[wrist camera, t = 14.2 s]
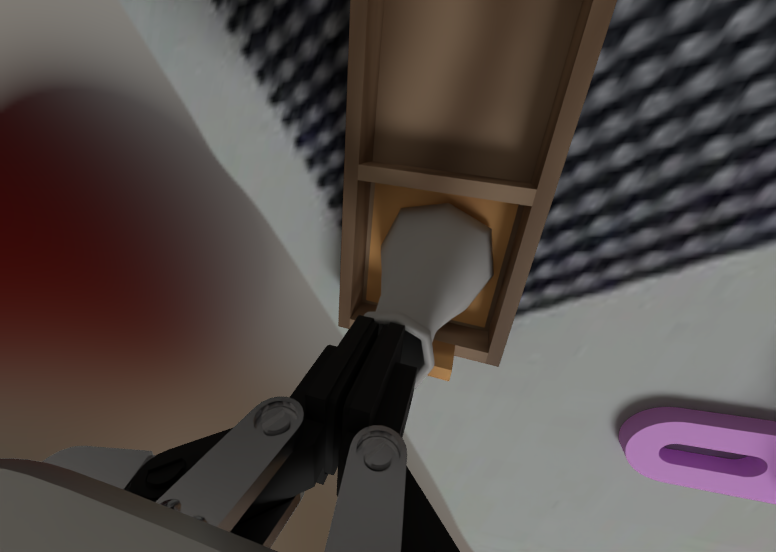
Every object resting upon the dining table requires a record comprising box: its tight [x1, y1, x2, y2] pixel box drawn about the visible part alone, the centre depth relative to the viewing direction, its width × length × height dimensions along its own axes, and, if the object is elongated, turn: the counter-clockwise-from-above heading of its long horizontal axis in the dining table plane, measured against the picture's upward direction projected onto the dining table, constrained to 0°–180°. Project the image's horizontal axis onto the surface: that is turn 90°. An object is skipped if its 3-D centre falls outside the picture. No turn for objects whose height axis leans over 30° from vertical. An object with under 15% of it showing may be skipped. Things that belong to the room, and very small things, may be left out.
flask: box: [364, 203, 494, 389], centre depth 16 cm, size 7×7×10 cm
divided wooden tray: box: [338, 0, 617, 381], centre depth 16 cm, size 11×20×6 cm, turn 174°
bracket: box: [619, 407, 776, 504], centre depth 18 cm, size 13×6×7 cm, turn 93°
